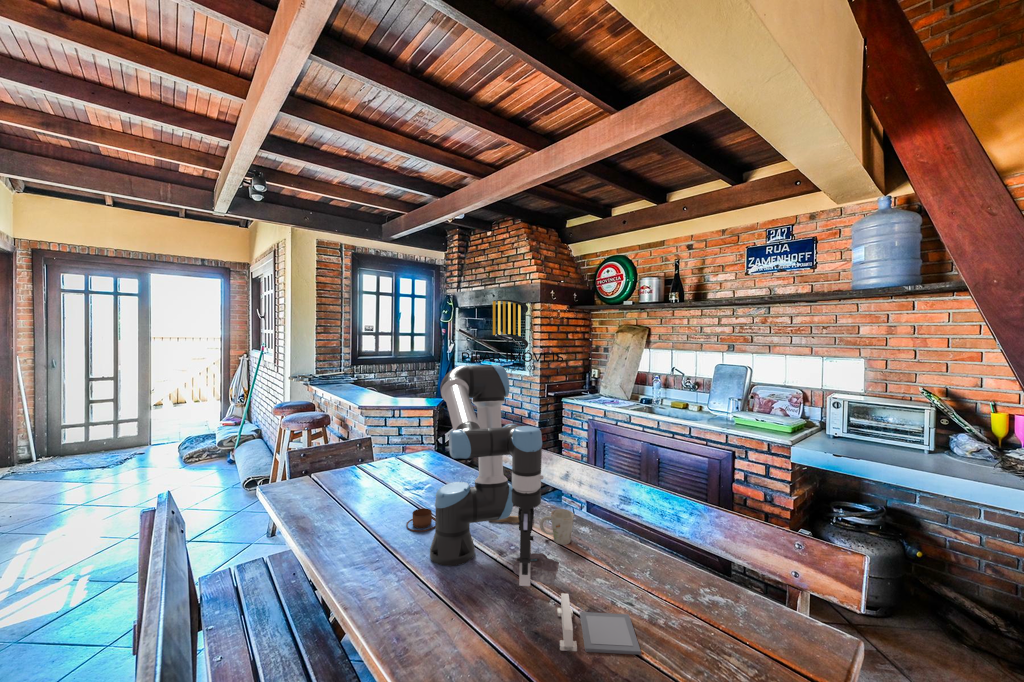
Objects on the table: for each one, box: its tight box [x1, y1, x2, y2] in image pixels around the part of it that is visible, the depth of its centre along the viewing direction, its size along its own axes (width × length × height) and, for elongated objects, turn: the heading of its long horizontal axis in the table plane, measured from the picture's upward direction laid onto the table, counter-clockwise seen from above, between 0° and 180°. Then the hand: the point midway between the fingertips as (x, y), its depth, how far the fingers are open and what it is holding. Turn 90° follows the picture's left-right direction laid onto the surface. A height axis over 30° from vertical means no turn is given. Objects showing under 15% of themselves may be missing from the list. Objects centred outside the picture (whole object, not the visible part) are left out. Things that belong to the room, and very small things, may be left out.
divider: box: [556, 592, 578, 652], centre depth 105 cm, size 4×14×5 cm, turn 176°
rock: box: [512, 552, 560, 586], centre depth 107 cm, size 8×11×5 cm
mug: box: [539, 508, 575, 545], centre depth 152 cm, size 8×13×10 cm, turn 78°
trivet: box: [579, 611, 642, 656], centre depth 104 cm, size 13×13×1 cm
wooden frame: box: [491, 504, 519, 524], centre depth 173 cm, size 17×17×3 cm
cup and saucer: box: [406, 507, 435, 533], centre depth 161 cm, size 12×12×6 cm
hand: (525, 574), depth 107 cm, fingers closed on rock, 8 cm apart
